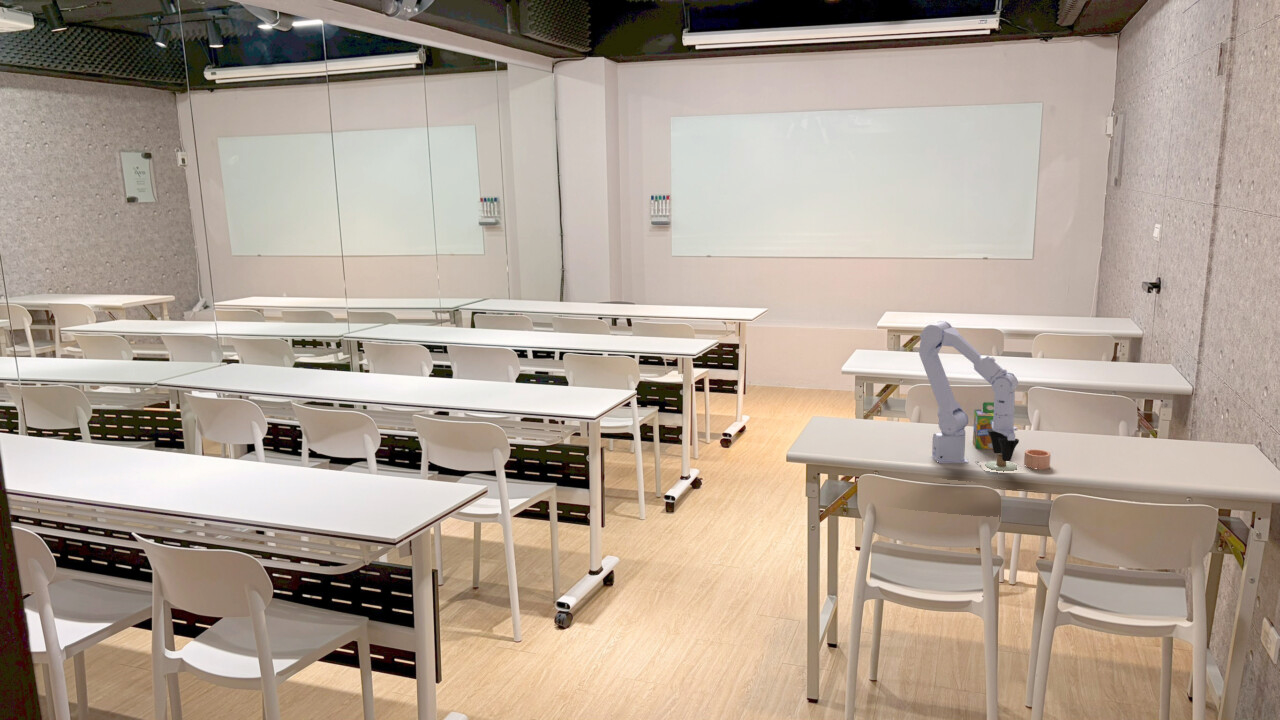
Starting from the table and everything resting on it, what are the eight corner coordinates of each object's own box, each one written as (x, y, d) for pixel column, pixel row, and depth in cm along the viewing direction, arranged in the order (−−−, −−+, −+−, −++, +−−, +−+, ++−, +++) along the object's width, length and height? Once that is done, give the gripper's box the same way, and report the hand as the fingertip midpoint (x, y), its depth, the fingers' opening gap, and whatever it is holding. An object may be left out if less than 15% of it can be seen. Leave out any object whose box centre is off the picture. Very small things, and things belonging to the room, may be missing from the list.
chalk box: (975, 450, 280) (977, 406, 277) (972, 442, 289) (973, 399, 286) (1006, 451, 278) (1008, 406, 275) (1001, 443, 287) (1003, 400, 284)
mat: (987, 475, 256) (987, 473, 256) (974, 462, 268) (974, 461, 267) (1028, 474, 255) (1029, 473, 255) (1013, 462, 267) (1014, 460, 267)
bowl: (1029, 470, 258) (1030, 456, 257) (1020, 463, 265) (1021, 449, 264) (1053, 470, 258) (1054, 456, 257) (1043, 463, 265) (1044, 449, 264)
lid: (991, 472, 257) (991, 460, 256) (981, 463, 266) (981, 452, 265) (1022, 471, 257) (1022, 460, 256) (1010, 462, 265) (1011, 451, 265)
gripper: (1026, 419, 251) (1024, 463, 253) (1008, 407, 265) (1006, 449, 267) (1002, 420, 251) (1000, 464, 254) (985, 407, 265) (983, 450, 268)
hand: (1002, 456), depth 260 cm, fingers open, 7 cm apart
